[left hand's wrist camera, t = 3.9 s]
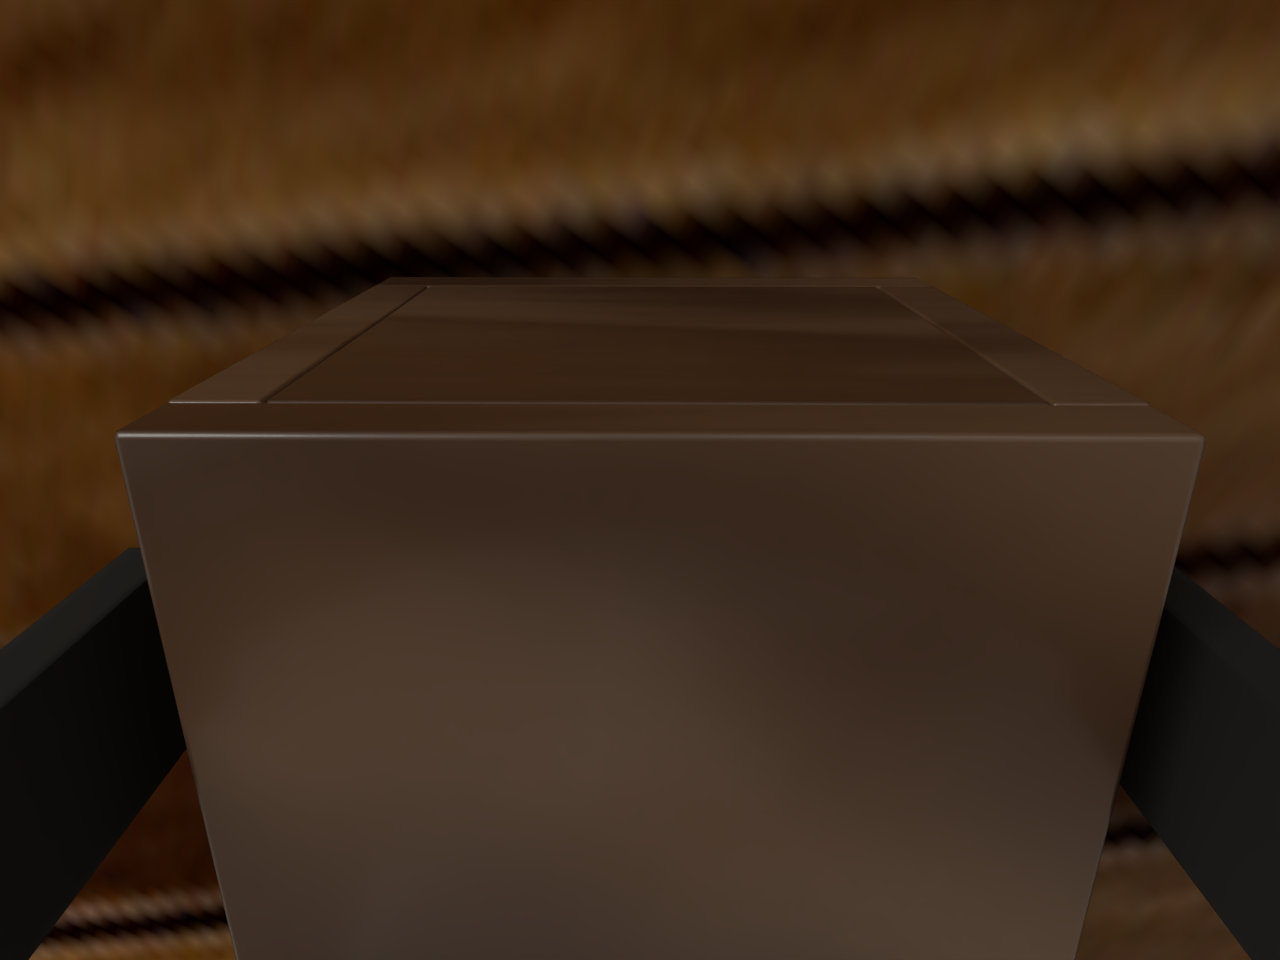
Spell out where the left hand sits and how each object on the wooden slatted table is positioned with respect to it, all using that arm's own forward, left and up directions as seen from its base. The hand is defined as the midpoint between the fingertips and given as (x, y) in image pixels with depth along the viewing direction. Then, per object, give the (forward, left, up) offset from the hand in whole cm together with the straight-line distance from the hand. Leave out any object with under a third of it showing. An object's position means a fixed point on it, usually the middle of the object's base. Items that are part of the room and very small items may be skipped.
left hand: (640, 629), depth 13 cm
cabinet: (+1, +5, -7) cm, 8 cm away
